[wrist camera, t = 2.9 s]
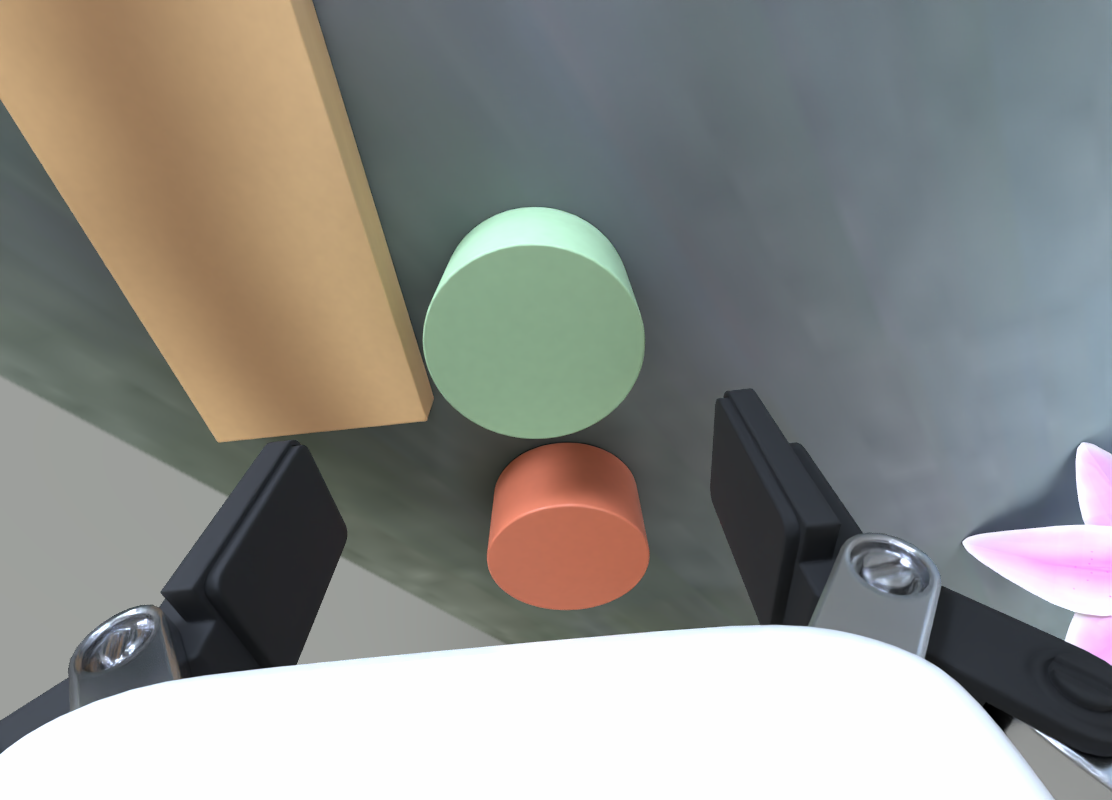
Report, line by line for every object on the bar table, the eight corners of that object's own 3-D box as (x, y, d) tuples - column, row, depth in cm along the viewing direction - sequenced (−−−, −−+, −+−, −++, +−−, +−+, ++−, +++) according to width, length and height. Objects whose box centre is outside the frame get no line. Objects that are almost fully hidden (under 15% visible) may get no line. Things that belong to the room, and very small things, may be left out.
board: (140, -563, 9) (74, -662, 8) (434, 398, 20) (427, 421, 19) (-285, -471, 9) (-414, -551, 8) (237, 419, 21) (217, 443, 19)
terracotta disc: (634, 434, 21) (648, 497, 18) (638, 537, 25) (651, 604, 22) (481, 449, 22) (471, 514, 19) (507, 549, 25) (502, 616, 22)
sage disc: (625, 194, 16) (643, 228, 13) (632, 370, 20) (647, 429, 17) (421, 219, 16) (393, 259, 13) (465, 388, 20) (451, 448, 17)
